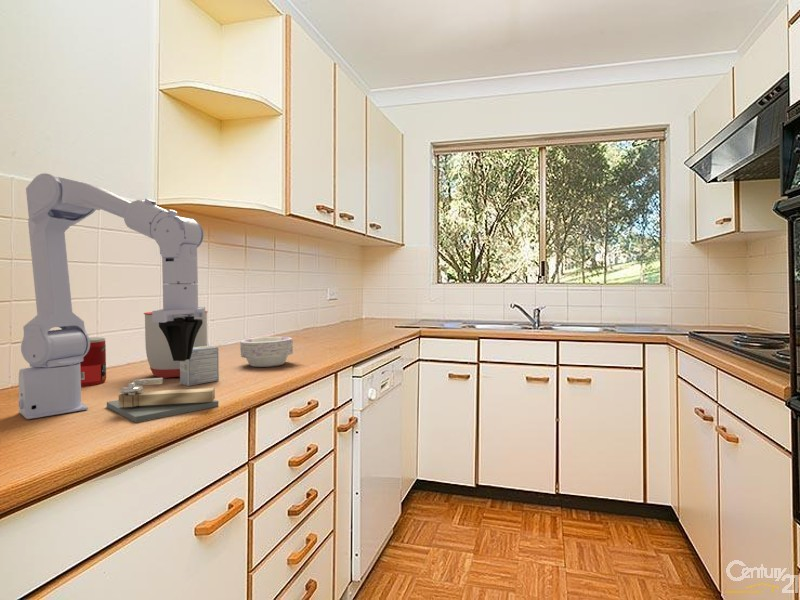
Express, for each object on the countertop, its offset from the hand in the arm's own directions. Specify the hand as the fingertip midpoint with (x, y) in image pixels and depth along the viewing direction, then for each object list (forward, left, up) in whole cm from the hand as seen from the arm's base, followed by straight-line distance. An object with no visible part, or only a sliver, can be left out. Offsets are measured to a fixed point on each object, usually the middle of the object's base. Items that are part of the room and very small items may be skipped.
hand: (181, 360), depth 85 cm
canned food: (-3, +49, -11) cm, 50 cm away
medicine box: (+16, +29, -11) cm, 35 cm away
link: (0, +7, -9) cm, 12 cm away
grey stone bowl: (+41, +40, -11) cm, 58 cm away
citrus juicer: (+17, +45, -11) cm, 49 cm away
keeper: (0, +15, -10) cm, 19 cm away
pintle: (-5, +11, -10) cm, 16 cm away
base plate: (+1, +11, -10) cm, 15 cm away
